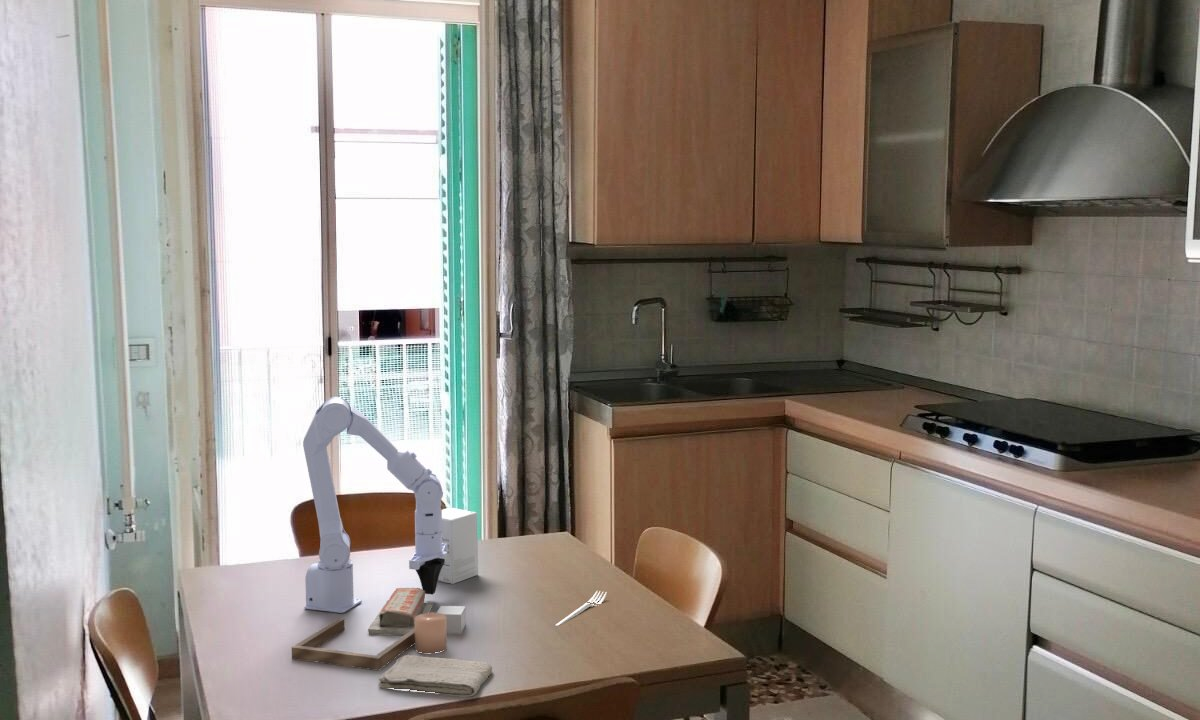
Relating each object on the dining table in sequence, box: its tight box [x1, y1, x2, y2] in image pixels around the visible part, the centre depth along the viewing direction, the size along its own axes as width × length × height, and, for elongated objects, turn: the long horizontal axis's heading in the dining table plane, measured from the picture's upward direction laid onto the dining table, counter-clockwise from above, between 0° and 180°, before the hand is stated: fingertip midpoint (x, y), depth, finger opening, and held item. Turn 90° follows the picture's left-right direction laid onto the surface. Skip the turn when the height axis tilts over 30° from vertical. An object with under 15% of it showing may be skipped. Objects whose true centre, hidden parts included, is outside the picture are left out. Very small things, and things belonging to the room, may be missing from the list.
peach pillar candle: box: [414, 612, 448, 653], centre depth 214 cm, size 6×6×6 cm
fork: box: [554, 590, 607, 627], centre depth 235 cm, size 3×20×2 cm, turn 152°
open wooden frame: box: [291, 618, 415, 671], centre depth 213 cm, size 18×17×2 cm
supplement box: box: [437, 507, 479, 585], centre depth 259 cm, size 9×9×15 cm
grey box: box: [436, 605, 467, 634], centre depth 224 cm, size 5×5×4 cm
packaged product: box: [367, 587, 435, 636], centre depth 230 cm, size 18×5×10 cm
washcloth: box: [378, 654, 493, 698], centre depth 198 cm, size 12×18×3 cm, turn 80°
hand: (429, 593), depth 242 cm, fingers closed
